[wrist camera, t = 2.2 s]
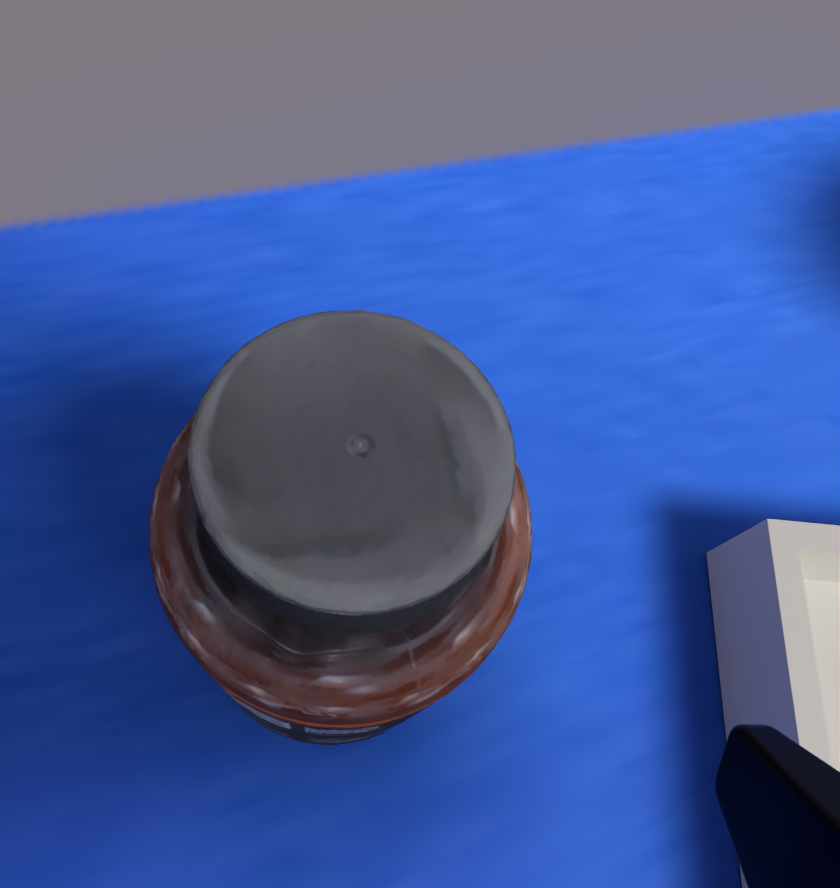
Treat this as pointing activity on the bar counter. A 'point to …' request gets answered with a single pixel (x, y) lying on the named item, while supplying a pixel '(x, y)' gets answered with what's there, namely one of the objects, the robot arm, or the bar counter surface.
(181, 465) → the supplement bottle
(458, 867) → the bar counter surface
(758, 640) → the tray
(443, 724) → the bar counter surface
